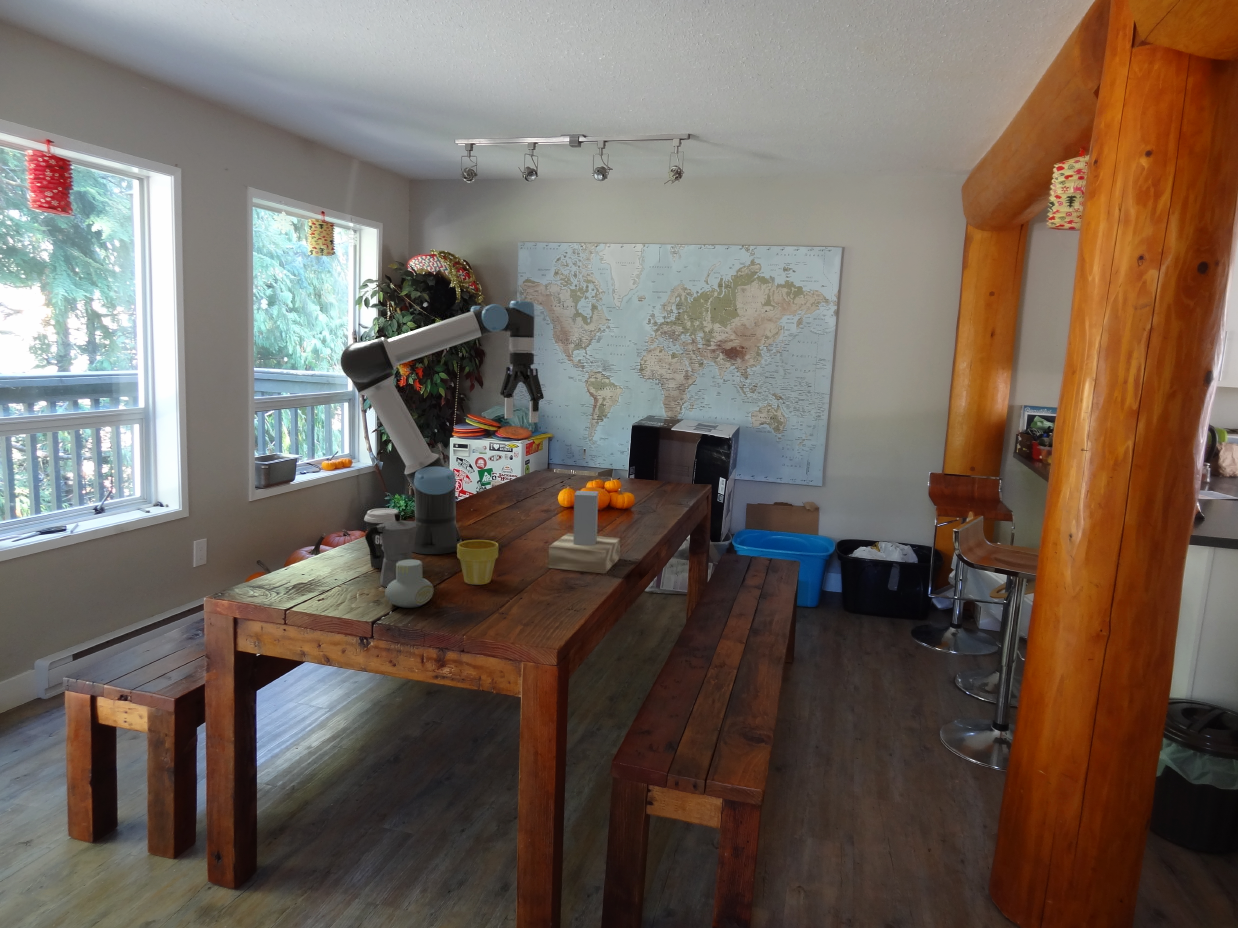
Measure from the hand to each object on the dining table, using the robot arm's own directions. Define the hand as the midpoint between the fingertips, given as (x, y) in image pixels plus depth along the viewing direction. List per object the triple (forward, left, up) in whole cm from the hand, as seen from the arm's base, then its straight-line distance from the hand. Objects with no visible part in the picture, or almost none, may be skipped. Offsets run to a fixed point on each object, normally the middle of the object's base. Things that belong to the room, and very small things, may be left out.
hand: (521, 420), depth 247 cm
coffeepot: (-55, -25, -37) cm, 71 cm away
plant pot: (-37, -35, -37) cm, 63 cm away
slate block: (-4, -38, -31) cm, 49 cm away
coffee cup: (-50, -8, -37) cm, 63 cm away
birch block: (-4, -38, -37) cm, 53 cm away
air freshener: (-59, -41, -37) cm, 81 cm away
